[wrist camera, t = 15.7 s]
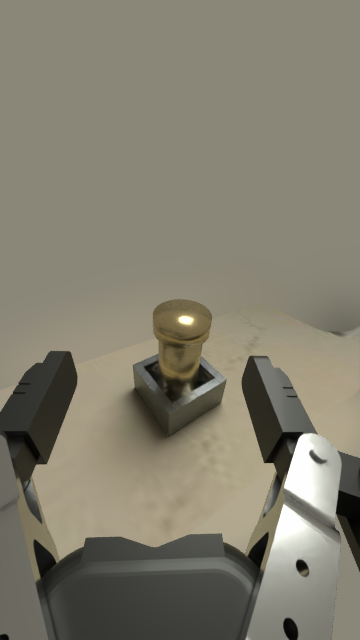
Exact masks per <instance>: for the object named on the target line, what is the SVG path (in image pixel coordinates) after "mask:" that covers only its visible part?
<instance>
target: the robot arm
mask: <svg viewBox="0 0 360 640" xmlns="http://www.w3.org/2000/svg"><path fill="white" fill-rule="evenodd" d="M76 386H77V372H76V369H75V365H74V362H73V358H72V355H71V353H70V352H69V351H50V352H49V353H48V355H47V356H46V358H45V360H44V362H43V363H36V364H35V365H33V366H32V367H31V368H30V369H29V370H28V371H26V372H25V374H24V376H23V377H22V379H21V380H20V382H19V385H17V387H16V388H15V390H14V391H13V394H12V395H11V396H10V398H9V399H8V401H7V402H6V404H5V406H4V407H3V409H2V410H1V412H0V640H331V638H332V629H333V620H334V610H335V600H336V590H337V581H338V571H339V561H340V552H341V537H340V533H339V531H337V530H336V529H335V524H334V523H335V514H337V517H338V519H339V522H340V524H341V526H342V529H343V532H344V534H345V536H346V539H347V542H348V544H349V546H350V548H351V551H352V554H353V556H354V559H355V561H356V564H357V566H358V569H359V571H360V458H358V457H354V456H351V455H348V454H345V453H342V452H339V451H337V450H336V449H335V447H334V446H333V445H332V444H331V443H330V442H329V441H328V440H326V439H325V438H323V437H321V436H319V435H318V434H317V432H316V430H315V429H314V427H313V425H312V423H311V421H310V419H309V417H308V415H307V413H306V411H305V409H304V407H303V405H302V403H301V401H300V399H299V398H298V395H297V393H296V391H295V390H294V389H293V386H292V384H291V382H290V380H289V378H288V376H287V375H286V374H285V373H284V372H283V371H282V370H281V369H280V368H273V365H272V363H271V361H270V359H269V358H268V357H267V356H250V357H249V359H248V362H247V365H246V368H245V371H244V374H243V377H242V390H243V394H244V397H245V400H246V404H247V407H248V410H249V414H250V417H251V420H252V424H253V427H254V430H255V434H256V437H257V441H258V444H259V447H260V451H261V454H262V457H263V461H264V463H274V465H275V468H276V472H275V474H274V477H273V480H272V483H271V486H270V489H269V492H268V495H267V498H266V501H265V504H264V507H263V510H262V513H261V516H260V518H259V521H258V523H257V525H256V527H255V529H254V531H253V533H252V536H251V539H250V541H249V544H248V547H247V549H246V552H245V554H244V553H242V552H241V551H240V550H238V549H237V548H235V547H233V546H231V545H229V544H227V543H224V542H223V538H222V534H191V535H187V536H184V537H182V538H179V539H177V540H174V541H172V542H169V543H167V544H164V545H162V546H159V547H150V546H147V545H144V544H141V543H138V542H135V541H132V540H129V539H126V538H123V537H95V538H86V539H85V544H84V547H82V548H79V549H77V550H76V551H74V552H72V553H70V554H69V555H67V556H66V557H64V558H63V559H61V560H60V559H59V556H58V553H57V549H56V546H55V544H54V541H53V539H52V536H51V534H50V532H49V530H48V528H47V525H46V522H45V519H44V515H43V512H42V509H41V505H40V502H39V498H38V495H37V492H36V488H35V485H34V482H33V478H32V476H31V475H32V473H33V470H34V468H35V466H36V464H47V462H48V460H49V457H50V454H51V452H52V449H53V447H54V444H55V441H56V439H57V436H58V434H59V431H60V428H61V426H62V423H63V420H64V418H65V415H66V413H67V410H68V407H69V405H70V402H71V400H72V397H73V394H74V392H75V389H76Z"/></svg>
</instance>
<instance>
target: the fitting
mask: <svg viewBox="0 0 360 640" xmlns="http://www.w3.org/2000/svg"><path fill="white" fill-rule="evenodd" d="M211 321H212V315H211V313H210V311H209V310H208V309H207V308H206V307H205V306H203V305H202V304H199V303H197V302H194V301H190V300H180V299H179V300H170V301H167V302H164V303H161V304H160V305H158V306H157V307H156V308H155V310H154V312H153V332H154V335H155V337H156V338H157V339H158V340H159V387H160V389H161V390H162V391H163V392H164V394H165V395H166V396H167V397H168V399H169V400H170V401H171V402H172V403H173V402H175V401H176V400H178V399H180V398H182V397H183V396H185V395H187V394H188V393H190V392H192V391H194V390H195V389H196V386H197V378H198V371H199V364H200V357H201V350H202V344H203V343H204V342H205V341H206V340H207V339H208V337H209V333H210V327H211Z"/></svg>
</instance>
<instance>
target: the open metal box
mask: <svg viewBox="0 0 360 640" xmlns="http://www.w3.org/2000/svg"><path fill="white" fill-rule="evenodd" d="M133 373H134V383H135V388H136V390H137V391H138V393H139V394H140V396H141V397H142V399H143V400H144V402H145V403H146V404H147V406H148V407H149V409H150V410H151V412H152V413H153V415H154V416H155V418H156V419H157V420H158V422H159V423H160V425H161V426H162V428H163V429H164V431H165V432H166V434H167V435H168V436H170V435H172V434H173V433H175V432H176V431H178V430H179V429H181V428H182V427H184V426H185V425H187V424H189V423H190V422H192V421H193V420H195V419H196V418H198V417H199V416H201V415H202V414H204V413H205V412H207V411H208V410H210V409H211V408H213V407H214V406H216V405H217V404H219V403H220V402H221V401H222V397H223V393H224V388H225V384H226V379H225V378H224V377H223V376H222V375H221V374H220V373H219V372H218V371H217V370H216V369H214V368H213V367H212V366H211V365H210V364H209V363H208V362H207V361H206V360H205V359H204V358H202V357H200V364H199V371H198V378H197V386H196V389H195V390H194V391H192V392H190V393H188V394H187V395H185V396H183V397H182V398H180V399H178V400H176V401H175V402H173V403H172V402H171V401H170V400H169V399H168V397H167V396H166V395H165V394H164V392H163V391H162V390H161V389H160V387H159V354H157V355H155V356H152V357H150V358H148V359H145V360H143V361H141V362H139V363H136V364H134V365H133Z"/></svg>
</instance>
